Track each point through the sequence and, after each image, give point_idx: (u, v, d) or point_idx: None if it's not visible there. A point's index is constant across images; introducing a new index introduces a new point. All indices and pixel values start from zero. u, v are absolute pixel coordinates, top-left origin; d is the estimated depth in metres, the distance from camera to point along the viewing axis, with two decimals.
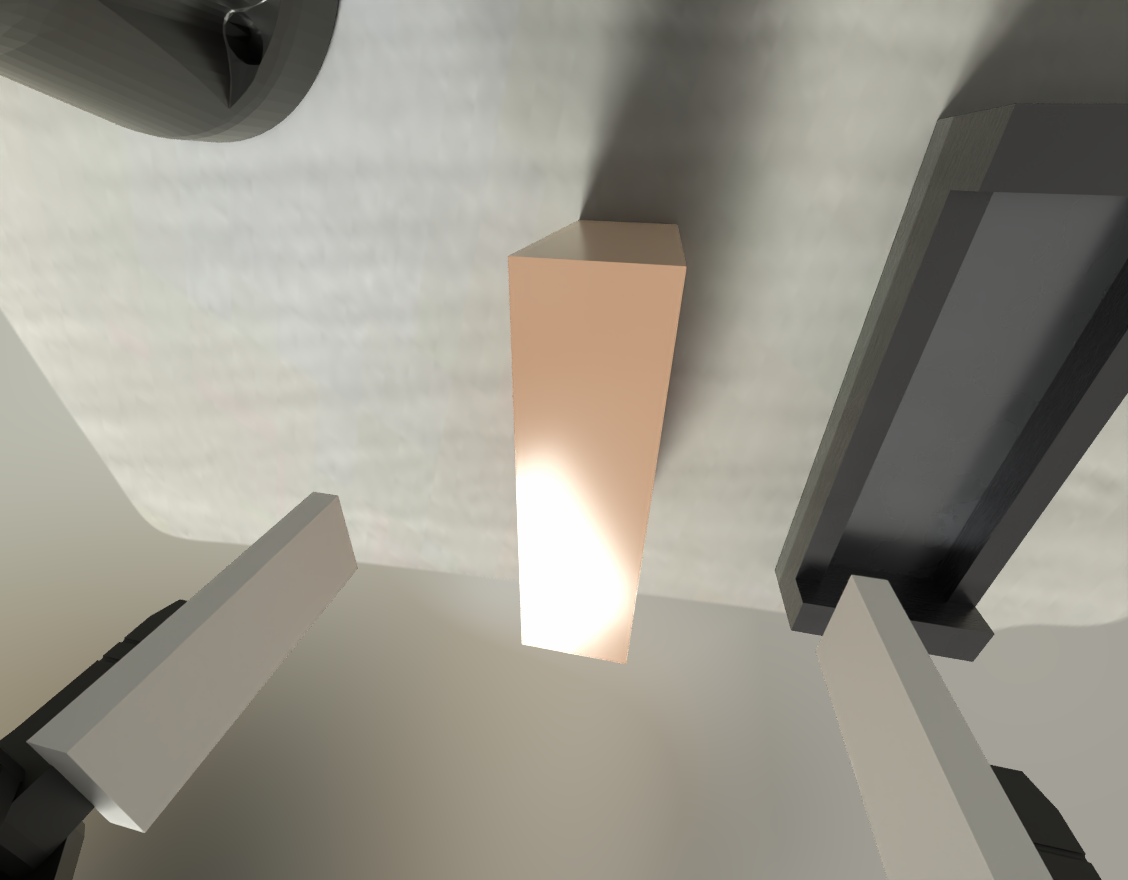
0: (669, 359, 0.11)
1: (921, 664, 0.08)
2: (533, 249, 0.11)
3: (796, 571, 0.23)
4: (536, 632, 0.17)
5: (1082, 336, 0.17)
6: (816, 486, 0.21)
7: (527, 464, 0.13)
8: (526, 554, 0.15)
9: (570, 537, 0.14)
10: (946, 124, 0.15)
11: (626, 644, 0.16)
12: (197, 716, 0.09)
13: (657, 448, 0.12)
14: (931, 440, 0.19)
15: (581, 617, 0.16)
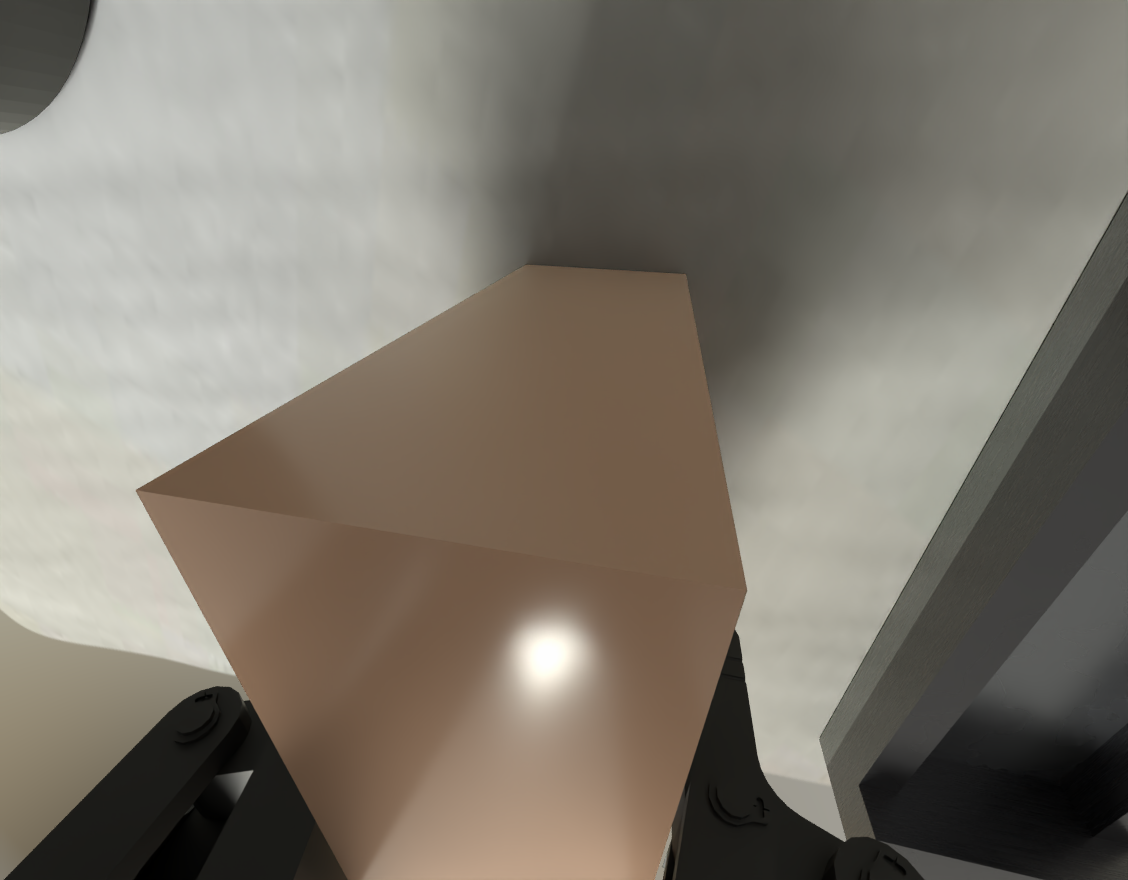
0: (676, 777, 0.04)
1: None
2: (296, 416, 0.04)
3: (860, 774, 0.15)
4: None
5: None
6: (895, 660, 0.14)
7: (353, 850, 0.06)
8: None
9: None
10: None
11: None
12: None
13: None
14: (1092, 615, 0.12)
15: None
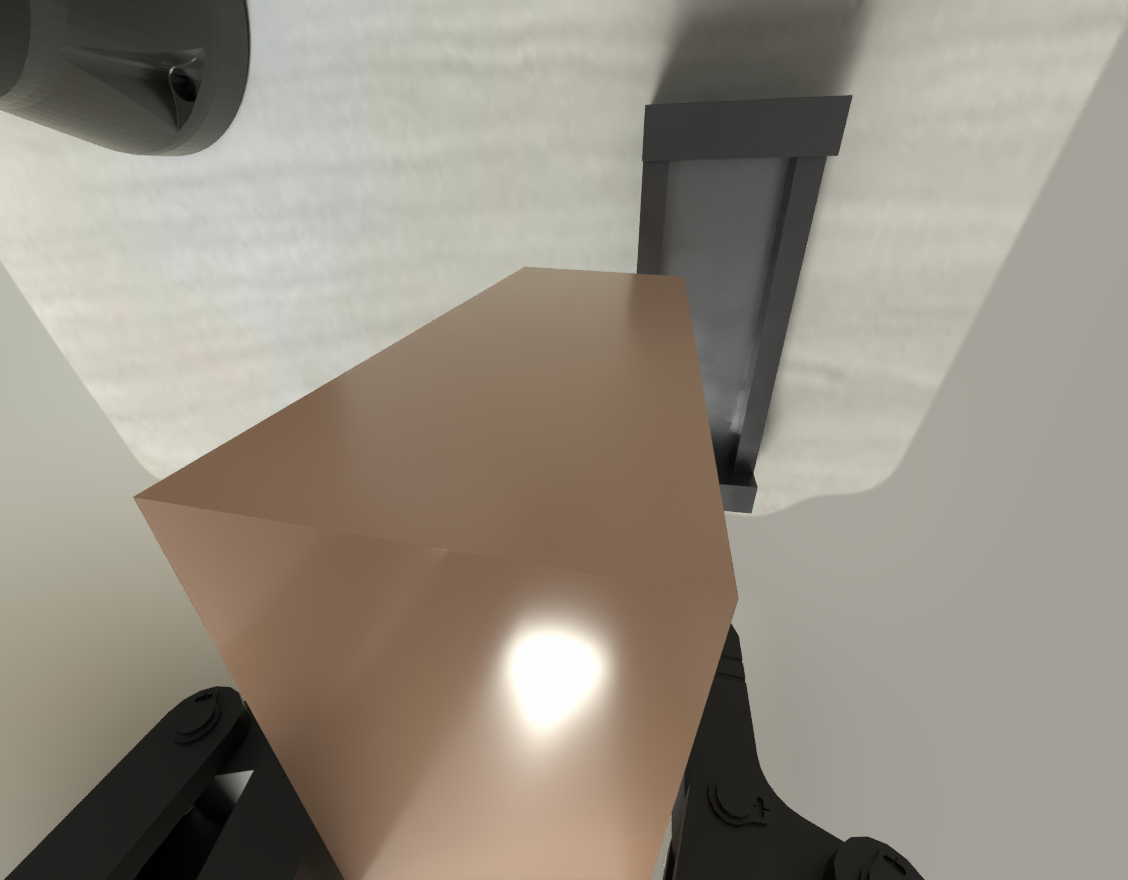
0: (670, 782, 0.04)
1: None
2: (293, 422, 0.04)
3: None
4: None
5: (771, 259, 0.24)
6: None
7: (351, 853, 0.06)
8: None
9: None
10: None
11: None
12: None
13: None
14: (698, 346, 0.27)
15: None
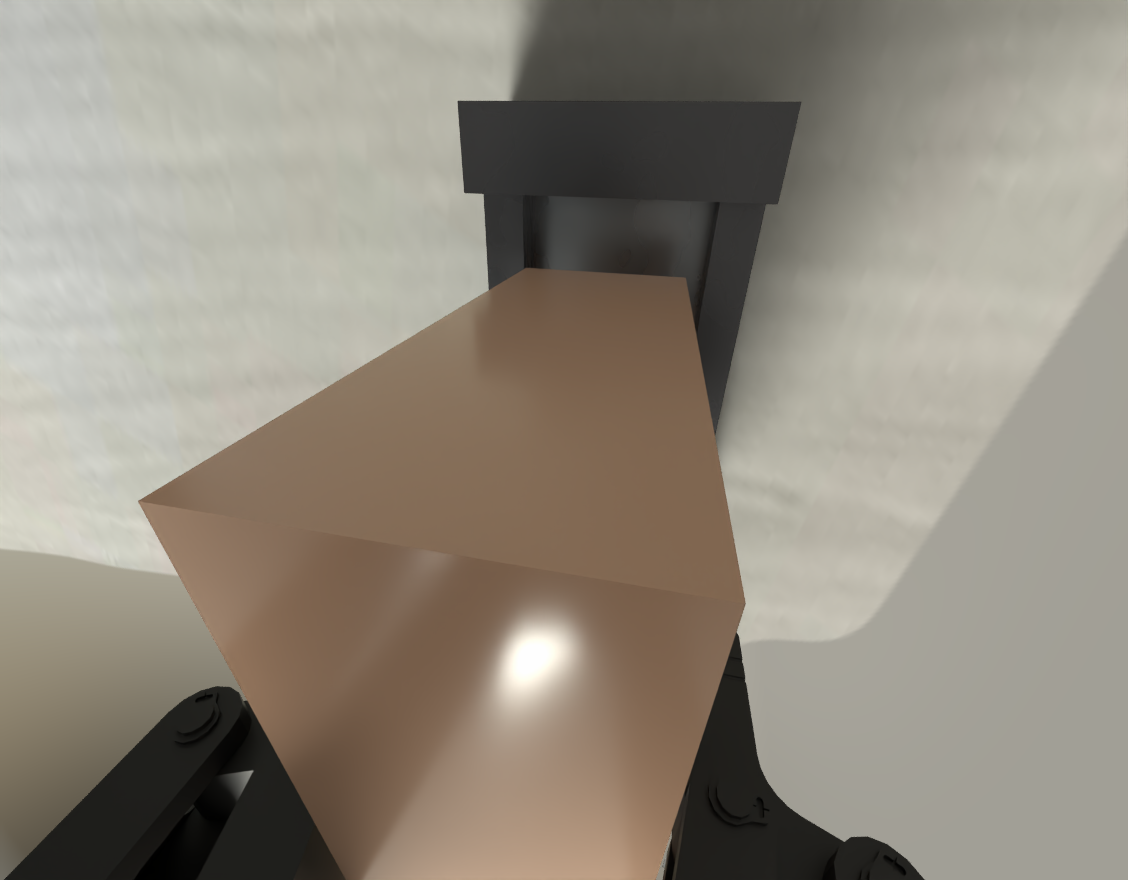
0: (675, 786, 0.04)
1: None
2: (298, 425, 0.04)
3: None
4: None
5: None
6: None
7: (353, 855, 0.06)
8: None
9: None
10: None
11: None
12: None
13: None
14: None
15: None
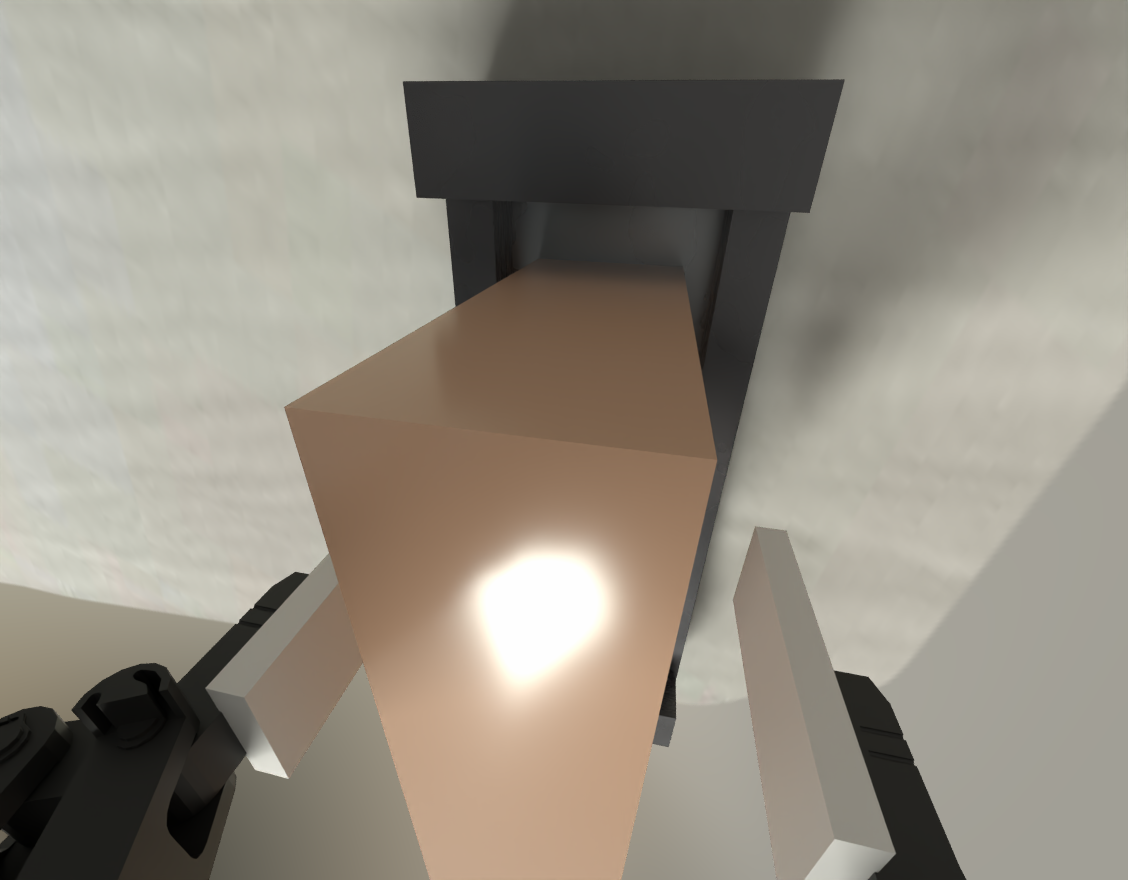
0: (671, 628, 0.05)
1: (796, 594, 0.10)
2: (380, 366, 0.05)
3: None
4: None
5: None
6: None
7: (406, 737, 0.07)
8: (428, 836, 0.09)
9: (497, 831, 0.08)
10: None
11: None
12: (325, 676, 0.10)
13: (646, 754, 0.06)
14: None
15: None
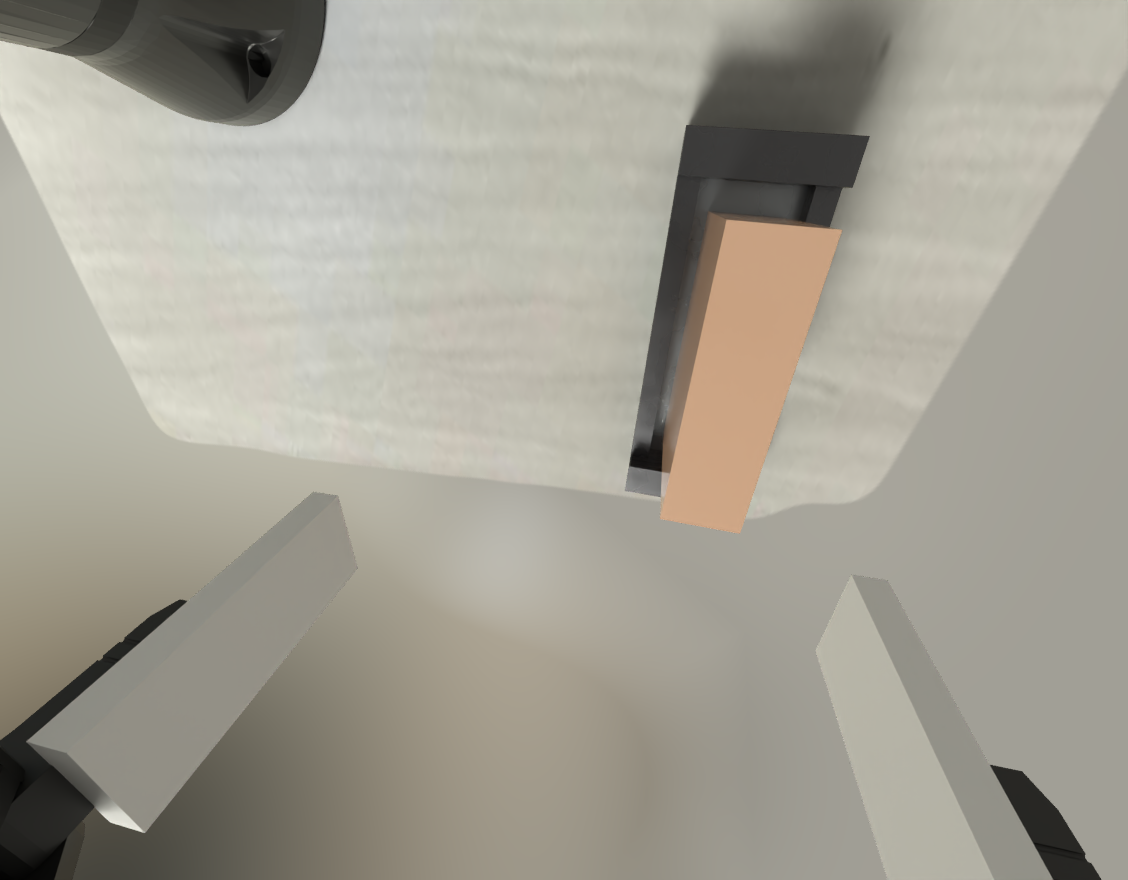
0: (819, 291, 0.17)
1: (921, 664, 0.08)
2: (730, 218, 0.18)
3: None
4: (674, 507, 0.23)
5: None
6: (642, 386, 0.31)
7: (702, 367, 0.19)
8: (683, 439, 0.21)
9: (721, 424, 0.20)
10: None
11: (743, 515, 0.22)
12: (197, 716, 0.09)
13: (799, 354, 0.18)
14: None
15: (713, 493, 0.22)
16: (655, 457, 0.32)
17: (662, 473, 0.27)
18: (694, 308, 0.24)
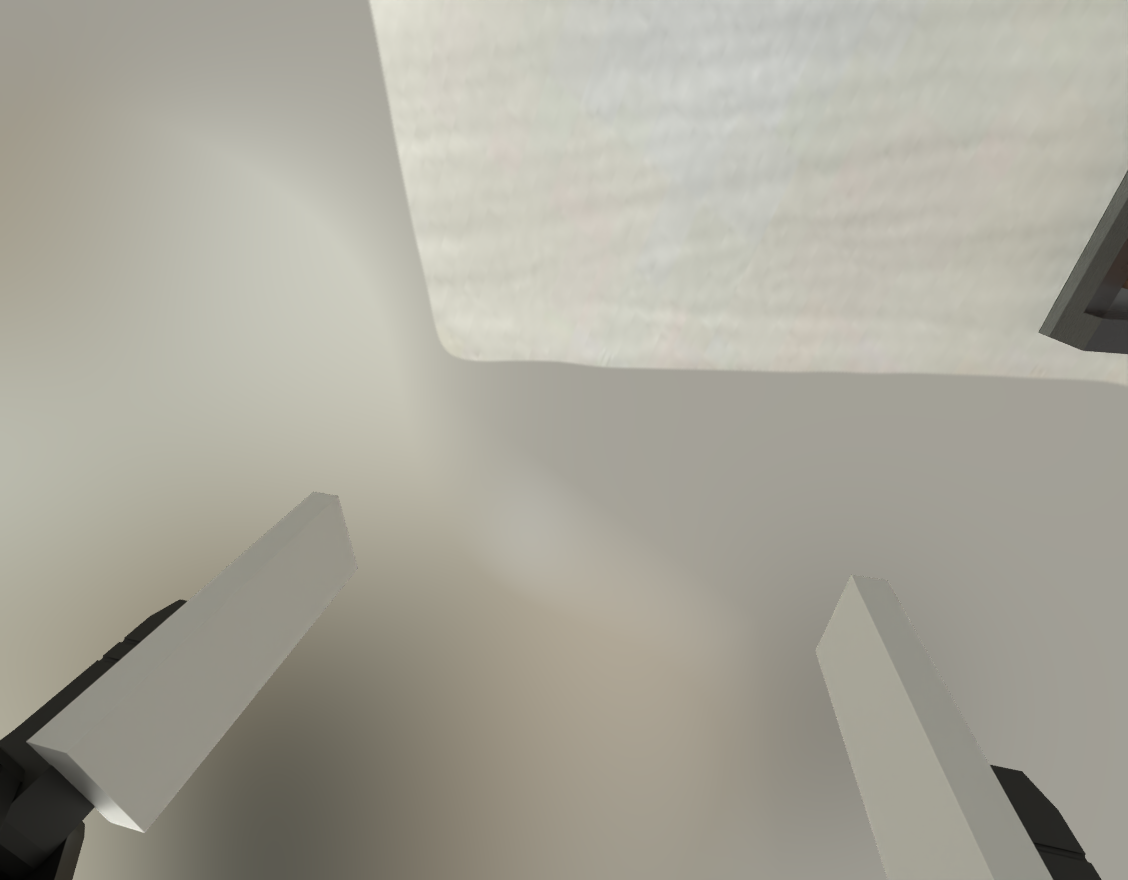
0: None
1: (921, 664, 0.08)
2: None
3: (1084, 306, 0.29)
4: None
5: None
6: (1111, 229, 0.28)
7: None
8: None
9: None
10: None
11: None
12: (197, 716, 0.09)
13: None
14: None
15: None
16: (1111, 313, 0.29)
17: None
18: None
